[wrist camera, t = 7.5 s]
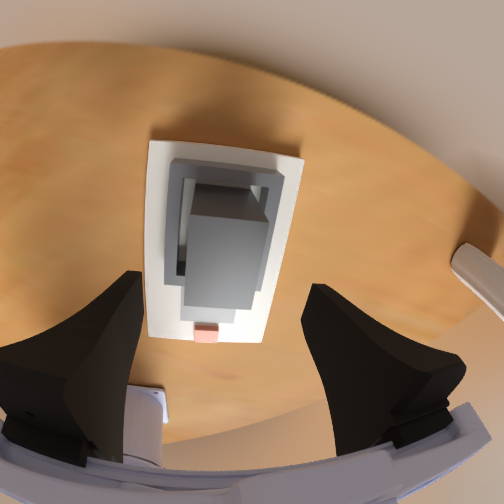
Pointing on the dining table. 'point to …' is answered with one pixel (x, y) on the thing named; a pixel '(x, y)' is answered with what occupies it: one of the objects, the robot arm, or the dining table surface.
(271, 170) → the white flat rectangular base
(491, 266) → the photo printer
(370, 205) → the dining table surface
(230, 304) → the gray block
